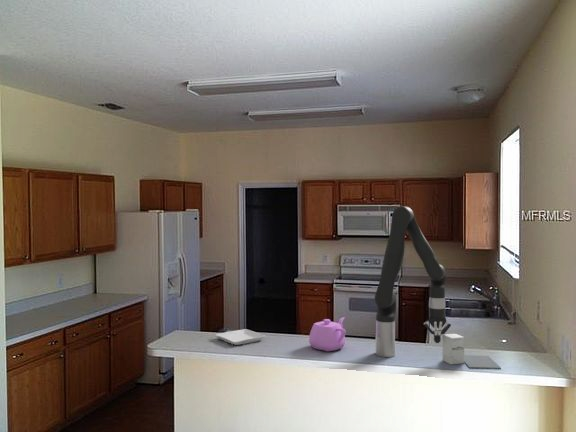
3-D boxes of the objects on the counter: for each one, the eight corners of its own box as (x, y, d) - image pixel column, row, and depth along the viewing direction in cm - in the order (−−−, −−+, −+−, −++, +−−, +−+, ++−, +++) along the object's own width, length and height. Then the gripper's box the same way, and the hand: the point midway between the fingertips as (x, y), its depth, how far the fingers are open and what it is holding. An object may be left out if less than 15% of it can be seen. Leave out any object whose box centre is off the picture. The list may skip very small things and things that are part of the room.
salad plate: (245, 333, 288) (245, 328, 288) (266, 341, 271) (266, 335, 271) (214, 340, 275) (214, 333, 275) (234, 348, 258) (234, 342, 258)
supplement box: (451, 365, 228) (451, 338, 228) (442, 360, 235) (442, 334, 235) (464, 363, 230) (464, 336, 230) (455, 358, 237) (455, 333, 237)
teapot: (334, 356, 242) (334, 326, 242) (304, 347, 257) (304, 319, 257) (362, 347, 258) (362, 318, 258) (332, 339, 273) (332, 312, 273)
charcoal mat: (469, 368, 223) (469, 367, 223) (459, 356, 241) (459, 355, 241) (500, 369, 222) (500, 367, 222) (488, 356, 240) (488, 355, 240)
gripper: (424, 308, 230) (424, 344, 230) (453, 308, 229) (453, 345, 229) (421, 304, 237) (421, 340, 238) (449, 305, 236) (449, 340, 236)
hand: (437, 342), depth 233 cm, fingers closed
